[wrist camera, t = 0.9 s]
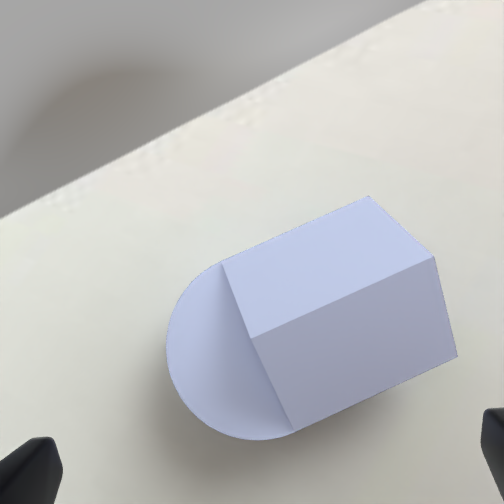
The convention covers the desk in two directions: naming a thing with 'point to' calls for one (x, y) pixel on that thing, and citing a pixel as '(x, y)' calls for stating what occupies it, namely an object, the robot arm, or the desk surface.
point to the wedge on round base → (308, 324)
